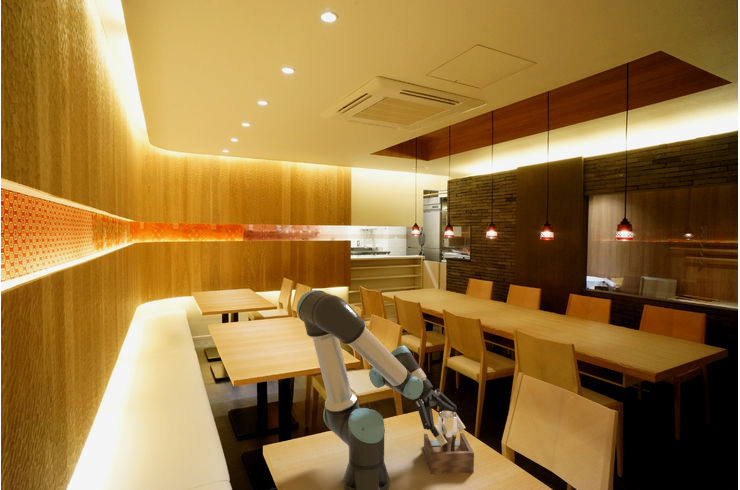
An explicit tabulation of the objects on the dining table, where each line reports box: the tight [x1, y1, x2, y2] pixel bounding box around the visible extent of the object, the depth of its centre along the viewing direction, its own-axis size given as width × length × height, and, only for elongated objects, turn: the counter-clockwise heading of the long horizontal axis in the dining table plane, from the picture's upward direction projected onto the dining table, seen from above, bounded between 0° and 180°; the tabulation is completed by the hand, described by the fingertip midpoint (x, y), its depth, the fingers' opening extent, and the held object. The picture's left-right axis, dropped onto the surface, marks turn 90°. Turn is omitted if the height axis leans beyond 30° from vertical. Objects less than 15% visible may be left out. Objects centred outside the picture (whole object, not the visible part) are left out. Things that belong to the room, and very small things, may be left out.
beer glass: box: [437, 410, 458, 452], centre depth 144 cm, size 7×7×15 cm
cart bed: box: [423, 432, 475, 475], centre depth 146 cm, size 15×17×7 cm
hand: (453, 436), depth 142 cm, fingers open, 12 cm apart
